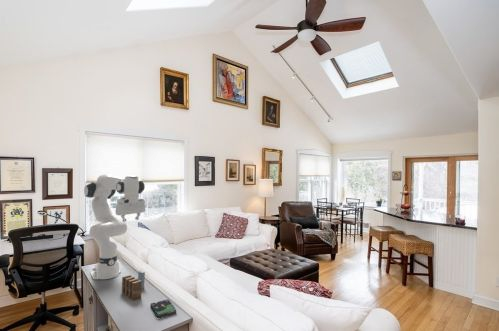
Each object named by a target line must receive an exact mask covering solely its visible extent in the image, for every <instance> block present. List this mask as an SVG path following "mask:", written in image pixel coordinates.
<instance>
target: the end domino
mask: <svg viewBox="0 0 499 331" xmlns="http://www.w3.org/2000/svg"><path fill="white" fill-rule="evenodd" d="M137 273H138V274H137V275H138V276H137V279H138V281H139V280H141V281H142V288H141V289H144V288H145V277H146V276H145V275H146V272H145V271H142V270H138V272H137Z"/></svg>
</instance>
